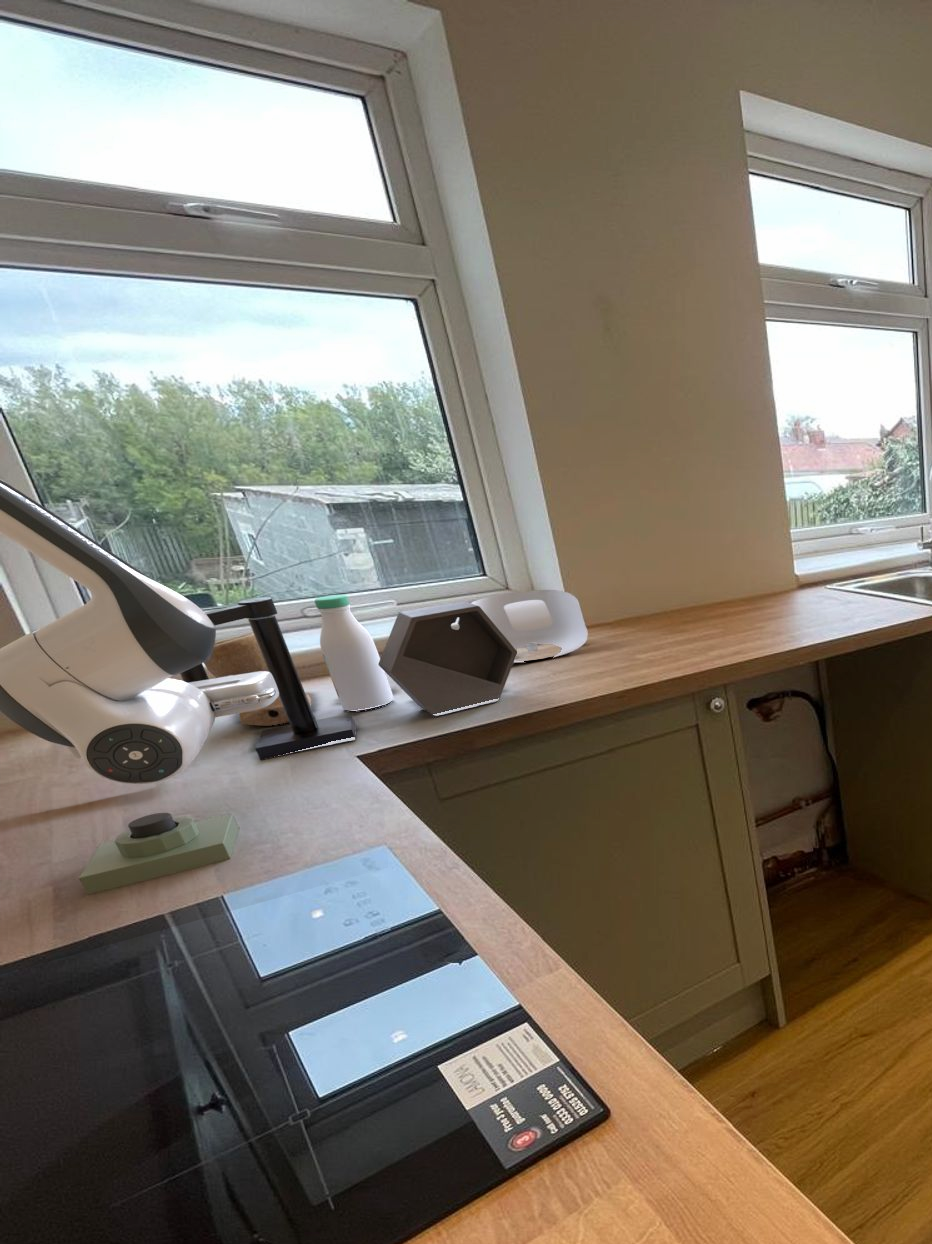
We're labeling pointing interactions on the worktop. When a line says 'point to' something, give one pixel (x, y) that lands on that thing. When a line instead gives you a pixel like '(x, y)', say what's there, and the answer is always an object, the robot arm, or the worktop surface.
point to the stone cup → (243, 659)
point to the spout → (229, 614)
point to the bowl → (537, 619)
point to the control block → (160, 853)
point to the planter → (448, 656)
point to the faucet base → (292, 700)
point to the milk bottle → (351, 656)
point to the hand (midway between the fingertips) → (181, 689)
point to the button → (151, 825)
